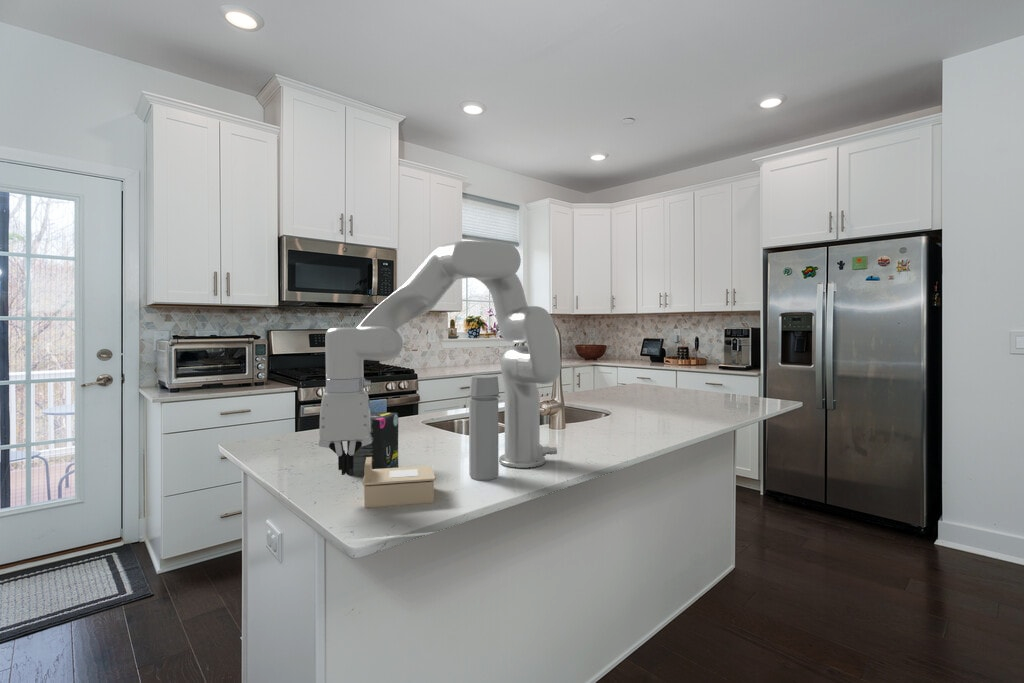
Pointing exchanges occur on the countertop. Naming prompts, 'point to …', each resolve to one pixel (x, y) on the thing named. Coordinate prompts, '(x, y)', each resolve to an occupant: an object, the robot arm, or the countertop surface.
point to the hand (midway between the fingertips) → (346, 472)
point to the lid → (396, 474)
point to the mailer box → (398, 494)
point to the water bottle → (483, 427)
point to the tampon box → (379, 444)
